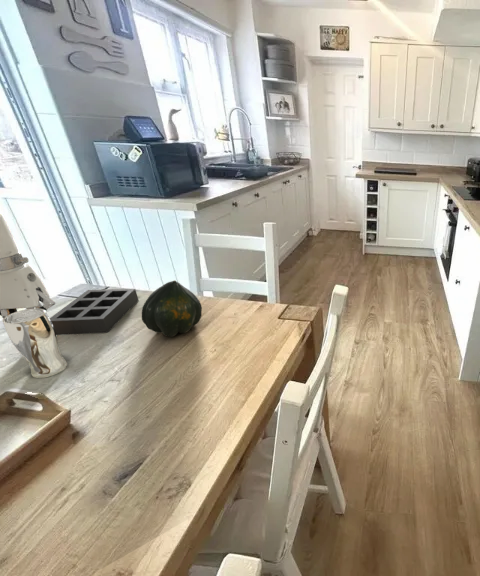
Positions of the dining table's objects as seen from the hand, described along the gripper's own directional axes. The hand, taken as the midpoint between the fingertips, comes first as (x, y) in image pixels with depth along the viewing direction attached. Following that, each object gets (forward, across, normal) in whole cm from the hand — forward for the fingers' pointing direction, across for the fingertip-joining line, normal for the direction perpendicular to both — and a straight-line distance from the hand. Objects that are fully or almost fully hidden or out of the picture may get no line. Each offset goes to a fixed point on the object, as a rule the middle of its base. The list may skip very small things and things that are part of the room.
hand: (31, 329), depth 82 cm
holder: (+5, -6, -15) cm, 17 cm away
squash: (+6, -30, -6) cm, 31 cm away
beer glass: (+6, -8, +10) cm, 14 cm away
